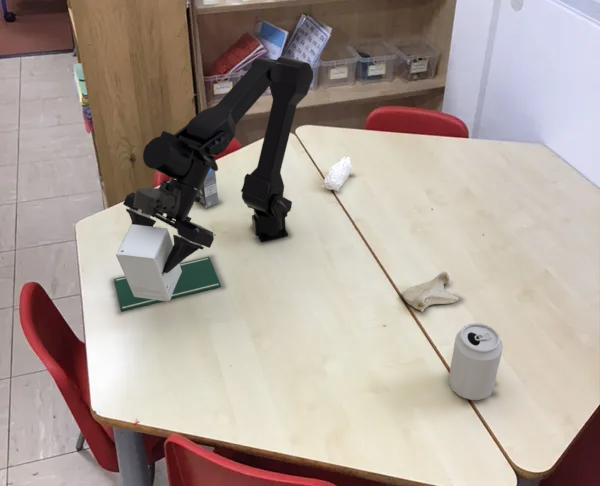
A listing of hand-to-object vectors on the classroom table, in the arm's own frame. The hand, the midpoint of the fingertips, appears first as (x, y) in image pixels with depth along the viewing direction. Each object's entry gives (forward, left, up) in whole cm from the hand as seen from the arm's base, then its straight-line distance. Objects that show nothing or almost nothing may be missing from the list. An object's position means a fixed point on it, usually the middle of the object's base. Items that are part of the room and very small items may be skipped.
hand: (147, 262), depth 121 cm
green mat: (-3, -9, -13) cm, 16 cm away
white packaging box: (-1, -1, -7) cm, 7 cm away
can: (-46, +36, -13) cm, 60 cm away
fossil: (-51, +14, -13) cm, 55 cm away
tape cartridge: (-17, -37, -13) cm, 43 cm away
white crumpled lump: (-37, -27, -11) cm, 47 cm away
